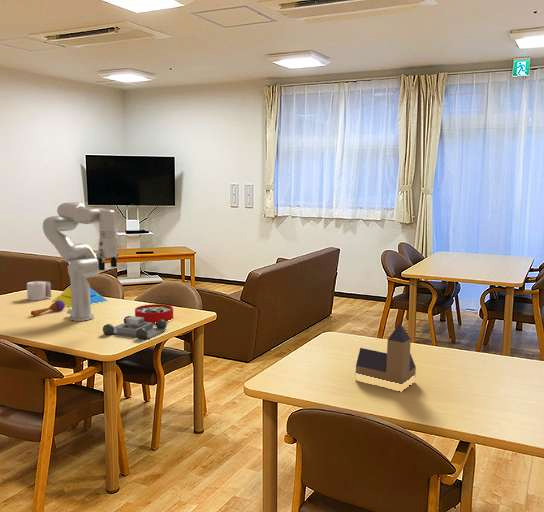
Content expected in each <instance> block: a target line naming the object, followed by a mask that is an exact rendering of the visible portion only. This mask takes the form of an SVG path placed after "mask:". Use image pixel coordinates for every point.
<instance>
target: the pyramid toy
mask: <svg viewBox="0 0 544 512" xmlns="http://www.w3.org/2000/svg"><path fill="white" fill-rule="evenodd" d="M57 300H62V301H63V302H64V303H65V305H67V306H70V307H72V301H71V285H70V287H68V288H66V289H65V290H64V291H63V292H61V293H60V294H59V295H58V296H57V297H54V299H53V300H52V301H53V302H52V303H54V302H55V301H57ZM103 301H108V299H106V298H105V297H104V296H103V295H101V294H99V292H97V291H95V290H94V289H93V288H91V287H90V304H92V303H97V304H99V303H98V302H102V303H104V302H103ZM92 305H93V304H92ZM67 306H66V307H67ZM70 307H69V308H70Z"/></svg>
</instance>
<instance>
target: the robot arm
mask: <svg viewBox="0 0 544 512" xmlns="http://www.w3.org/2000/svg"><path fill="white" fill-rule="evenodd" d="M56 212H57V215H53V216H48V217H46V218H45V219H44V220H43V222H42V230H43V233H44V235H45V237H46V239H47V240H48V241H49V242H50V243H51V244H52V246H54V248H55V249H56V251H57V252H58V254H59V255H60V257H61V259H62V260H63V261H64V262H65V263H68V266H67V273H68V276H69V280H70V281H69V282H70V286H71V301H72V308H70V309H68V310H67V311H66V314H67V315H68V314H70V316H69V317H68V319H69V320H70V321H72V320H74V321H73V322H83V321H84V322H85V320H86V321H90V319H91V320H93V319H94V318H95V315H94V314H93V313H92V311H91V310H92V308H91V307H92V306H91V304H90V288H91V285H90V282H89V281H88V279H87V278H88V277H93V276H97V275H99V274H100V273H101V271H105V269H106V264H105V260H106V259H110V267H111V268H117V267H118V265H117V264H118V263H117V262H118V261H117V260H118V257H119V253H120V249H118V240H117V237H116V212H115V211H114V210H113V209H108V208H104V207H93V208H86V207H85V205H84V204H83V203H82V202H78V201H77V202H76V201H75V202H74V201H73V202H63V203H61V204H59V205H58V207H57V209H56ZM80 224H83V225H92V224H98V225H99V226H98V227H99V229H98V231H99V239H98V247H97V248H98V251H97V253H95V252H94V251H93V250H92V247H91V246H90V245H88V244H86V243H73V242H72V241H71V239H70V238H69V237H68V236H67V235H65V234H64V233H62V232H68V231H73V230H75V229H76V228H77V227H78V225H80ZM86 277H87V278H86Z"/></svg>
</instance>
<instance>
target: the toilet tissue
mask: <svg viewBox="0 0 544 512" xmlns="http://www.w3.org/2000/svg"><path fill="white" fill-rule="evenodd" d="M26 291H27V292H26V293H27V296H26V297H27V301H34V302H35V300H37V301H43V299H44V300H46V299H47V298H52V285H51V282H50V281H43V280H36V281H35V280H34V281H30V282H29V281H28V282H26Z"/></svg>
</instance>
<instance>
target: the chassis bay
mask: <svg viewBox="0 0 544 512" xmlns="http://www.w3.org/2000/svg"><path fill="white" fill-rule="evenodd" d="M131 316H132V315H128V316H127V315H126V316H125V317H124V318H123V323H120V324H118V325H115V326H113V325H112V324H110V323H107V324H105V325H103V327H102V332H103V334H105V336H111V335H114V334H116V335H115V336H122V335H123V336H122V337H129V336H131V337H132V338H137V337H138V338H137V339H139V340H141V339H142V340H145V338H148V339H147V340H151V339H153V338H155V337H157V336H159V335H161V334H163V333H162V332H163V331H165V330H167V327H168V326H167V323H168V322H166V321H165V320H159V321H157V322H156V324H155V326H156V327H154V324H153V323H150V322H144V326H142V327H140V328H138V329H130V328H126V318H129V317H131ZM160 333H161V334H160ZM158 334H159V335H158ZM156 335H157V336H156ZM154 336H155V337H154ZM152 337H153V338H152ZM150 338H151V339H150Z"/></svg>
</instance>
